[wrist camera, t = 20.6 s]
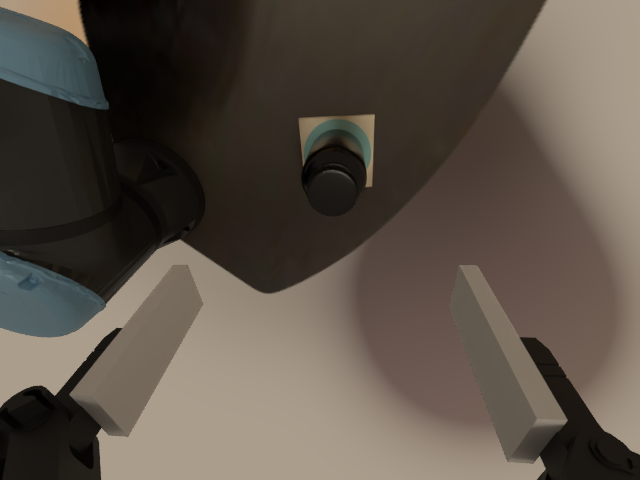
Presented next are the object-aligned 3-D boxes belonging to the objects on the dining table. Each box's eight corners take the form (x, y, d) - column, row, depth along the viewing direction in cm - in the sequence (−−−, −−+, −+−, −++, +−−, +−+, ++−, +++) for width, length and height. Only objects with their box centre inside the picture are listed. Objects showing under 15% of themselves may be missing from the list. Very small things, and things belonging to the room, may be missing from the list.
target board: (305, 186, 40) (305, 188, 40) (299, 117, 36) (298, 118, 35) (371, 185, 40) (372, 187, 39) (374, 113, 35) (374, 115, 34)
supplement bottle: (374, 158, 37) (384, 200, 27) (333, 190, 40) (328, 239, 30) (340, 114, 34) (337, 142, 24) (298, 151, 37) (280, 190, 27)
